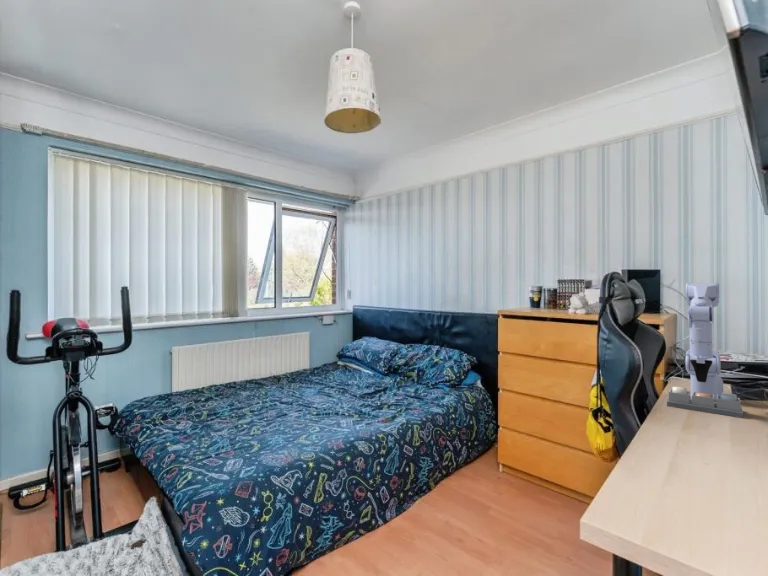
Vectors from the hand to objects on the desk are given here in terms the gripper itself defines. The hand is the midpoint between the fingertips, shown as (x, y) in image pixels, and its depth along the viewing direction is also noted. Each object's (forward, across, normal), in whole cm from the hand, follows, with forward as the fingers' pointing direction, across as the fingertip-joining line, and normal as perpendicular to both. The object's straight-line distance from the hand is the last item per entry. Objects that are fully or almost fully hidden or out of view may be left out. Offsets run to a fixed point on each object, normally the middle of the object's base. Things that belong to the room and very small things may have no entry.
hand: (701, 381), depth 124 cm
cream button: (+6, 0, -6) cm, 8 cm away
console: (+9, 0, 0) cm, 9 cm away
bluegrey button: (+6, 0, +6) cm, 9 cm away
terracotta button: (+7, 0, 0) cm, 7 cm away
